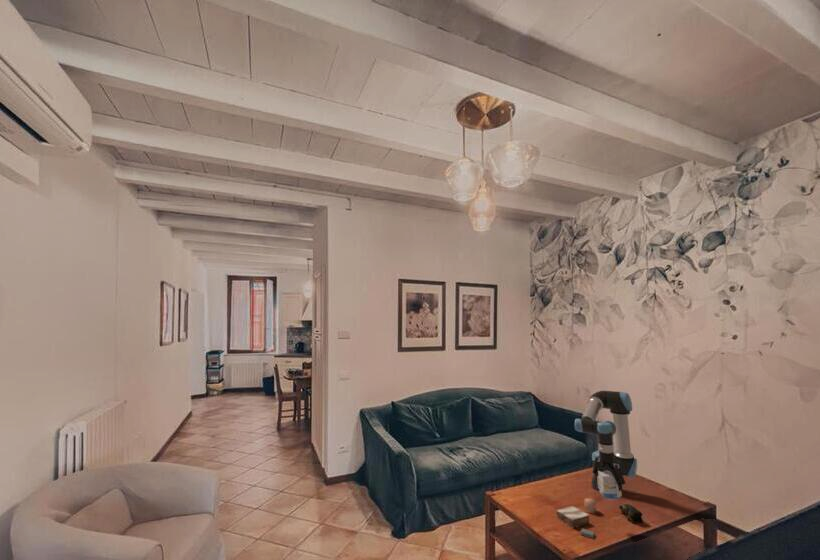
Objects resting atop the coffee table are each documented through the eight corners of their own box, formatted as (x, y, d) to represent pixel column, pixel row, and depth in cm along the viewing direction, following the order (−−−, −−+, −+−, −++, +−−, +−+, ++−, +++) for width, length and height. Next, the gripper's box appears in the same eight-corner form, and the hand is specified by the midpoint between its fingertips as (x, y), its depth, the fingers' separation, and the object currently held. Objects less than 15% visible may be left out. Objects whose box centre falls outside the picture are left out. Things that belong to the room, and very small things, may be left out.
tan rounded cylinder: (582, 509, 232) (582, 499, 232) (590, 507, 234) (589, 497, 235) (591, 514, 226) (590, 503, 227) (598, 512, 229) (597, 501, 229)
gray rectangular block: (580, 535, 205) (580, 531, 205) (582, 532, 208) (582, 528, 209) (592, 539, 202) (592, 535, 202) (594, 535, 205) (594, 531, 205)
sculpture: (617, 512, 227) (616, 500, 227) (626, 511, 228) (625, 499, 229) (633, 524, 214) (632, 511, 214) (643, 523, 215) (642, 510, 216)
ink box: (620, 499, 209) (619, 476, 211) (604, 498, 211) (602, 476, 212) (615, 492, 218) (613, 470, 219) (599, 491, 219) (597, 470, 220)
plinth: (557, 518, 223) (556, 510, 223) (572, 513, 227) (572, 505, 228) (573, 528, 212) (572, 519, 212) (589, 523, 216) (588, 514, 217)
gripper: (584, 446, 226) (586, 485, 224) (621, 459, 204) (624, 502, 202) (592, 444, 229) (595, 482, 227) (630, 456, 208) (634, 499, 205)
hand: (609, 492), depth 214 cm, fingers closed on ink box, 11 cm apart
